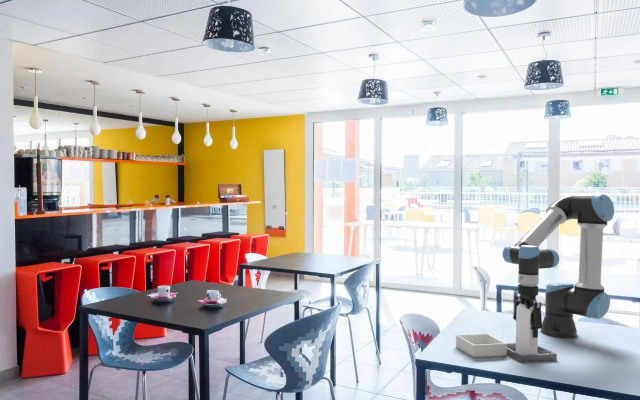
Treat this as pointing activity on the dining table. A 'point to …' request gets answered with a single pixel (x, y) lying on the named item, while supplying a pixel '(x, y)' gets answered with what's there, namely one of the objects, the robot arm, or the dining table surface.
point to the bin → (481, 345)
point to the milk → (524, 331)
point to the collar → (543, 356)
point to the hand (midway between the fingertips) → (526, 341)
